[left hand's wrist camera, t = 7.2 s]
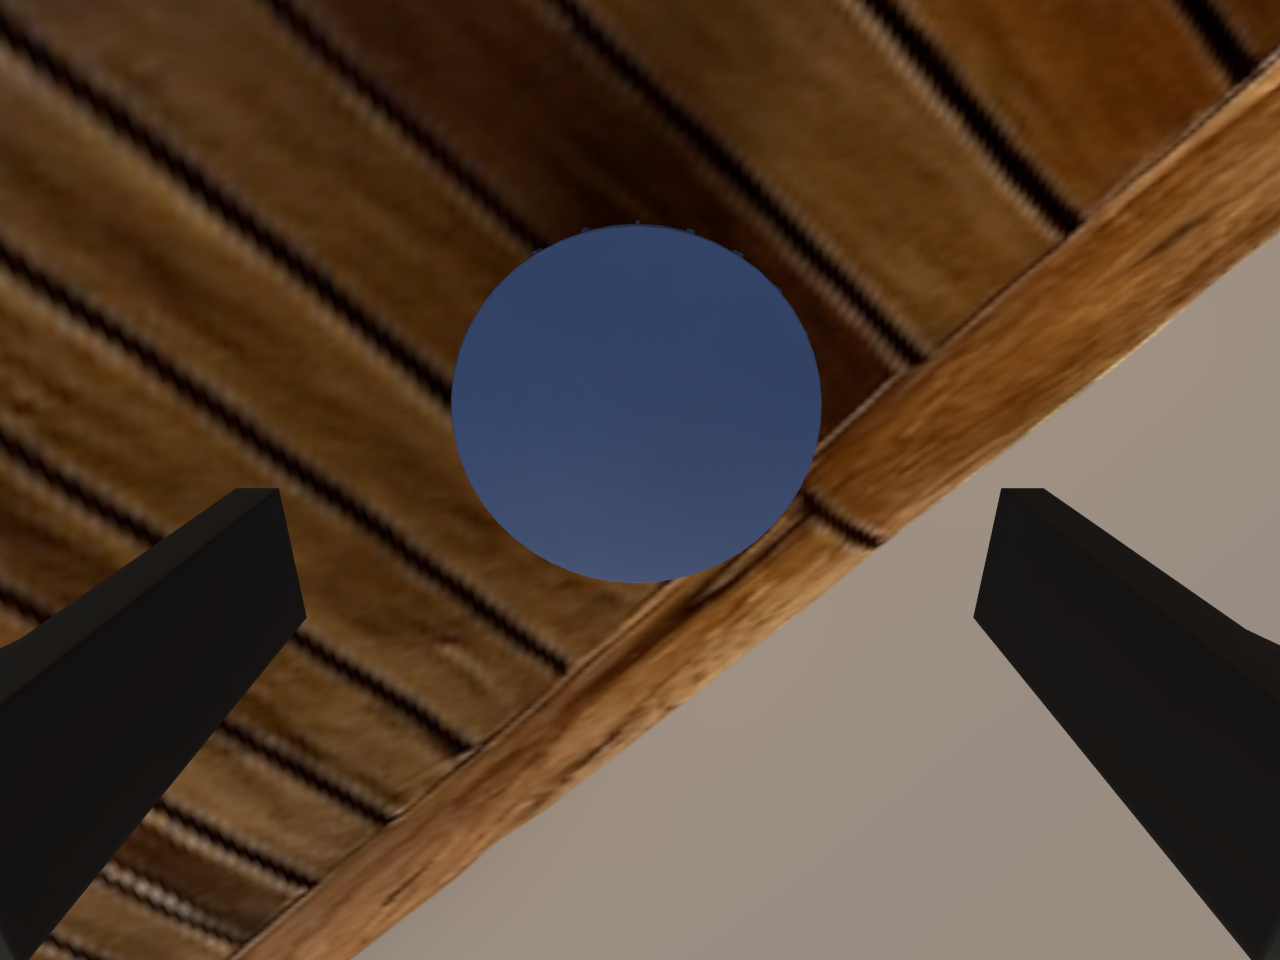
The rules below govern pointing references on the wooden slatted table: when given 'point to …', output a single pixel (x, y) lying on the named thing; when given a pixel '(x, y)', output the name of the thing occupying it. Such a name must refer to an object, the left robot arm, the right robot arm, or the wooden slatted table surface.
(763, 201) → the wooden slatted table surface
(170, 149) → the wooden slatted table surface
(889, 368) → the wooden slatted table surface
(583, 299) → the lid
